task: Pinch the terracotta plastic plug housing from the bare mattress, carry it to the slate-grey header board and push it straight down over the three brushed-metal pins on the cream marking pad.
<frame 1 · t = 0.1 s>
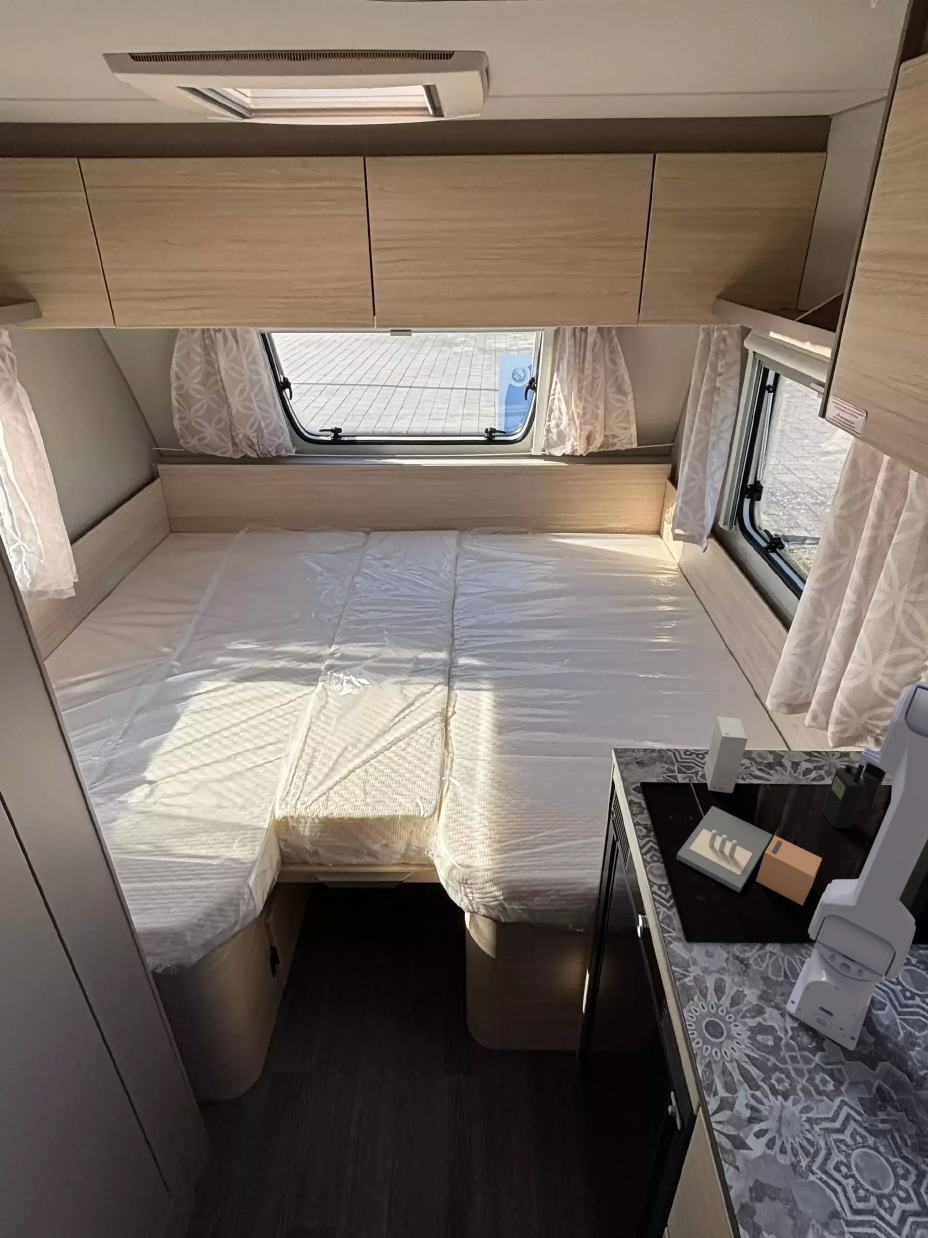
hand: (897, 821, 104), 10 cm above the worktop, tool pointing down, fingers open, 7 cm apart
walkie-talkie: (836, 820, 118), on the worktop
skincare box: (717, 782, 126), on the worktop
header board: (724, 848, 111), on the worktop
plug housing: (783, 884, 105), on the worktop
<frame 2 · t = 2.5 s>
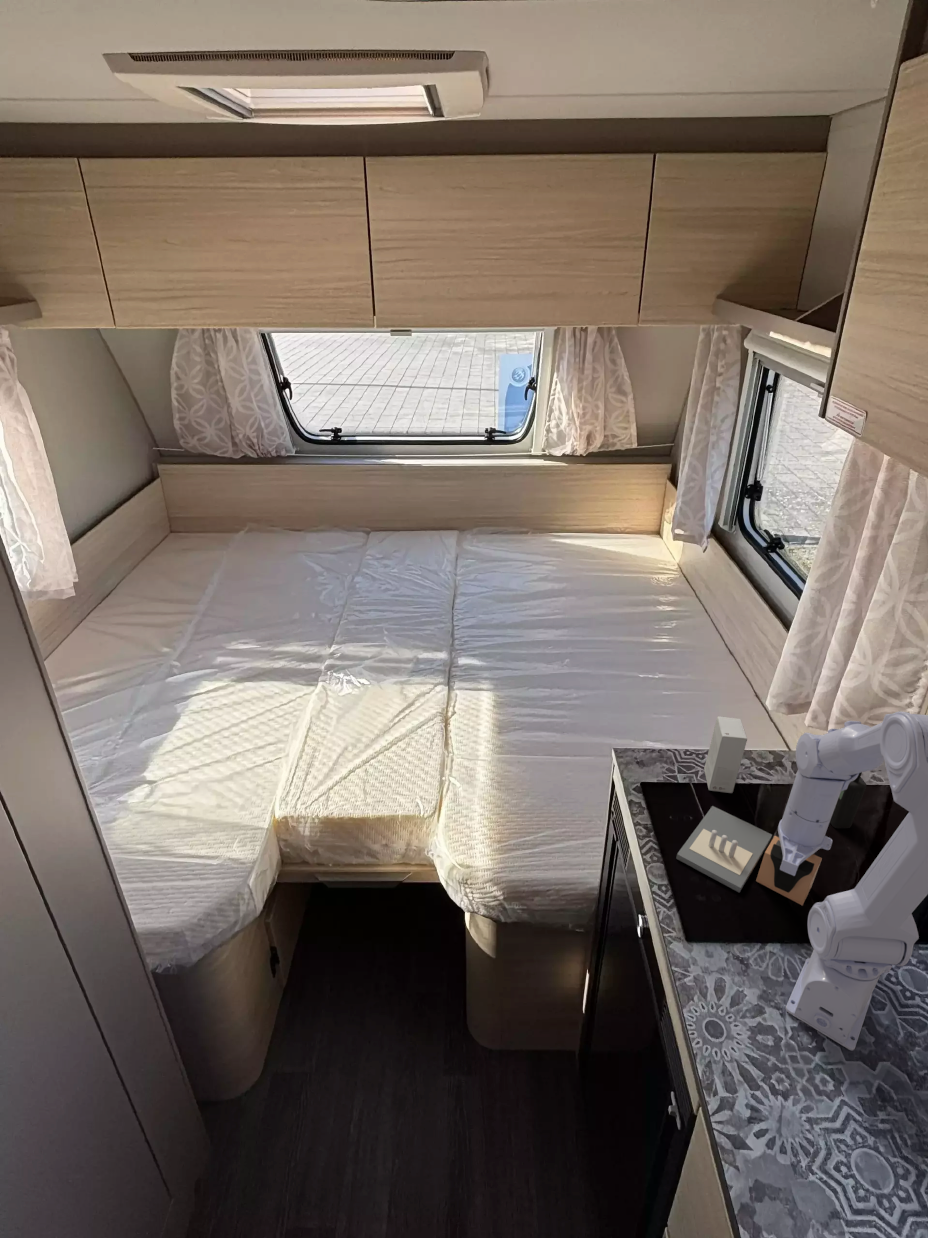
hand: (786, 876, 105), 2 cm above the worktop, tool pointing down, fingers closed on plug housing, 5 cm apart
plug housing: (783, 884, 105), on the worktop, touching gripper
everything else where it was.
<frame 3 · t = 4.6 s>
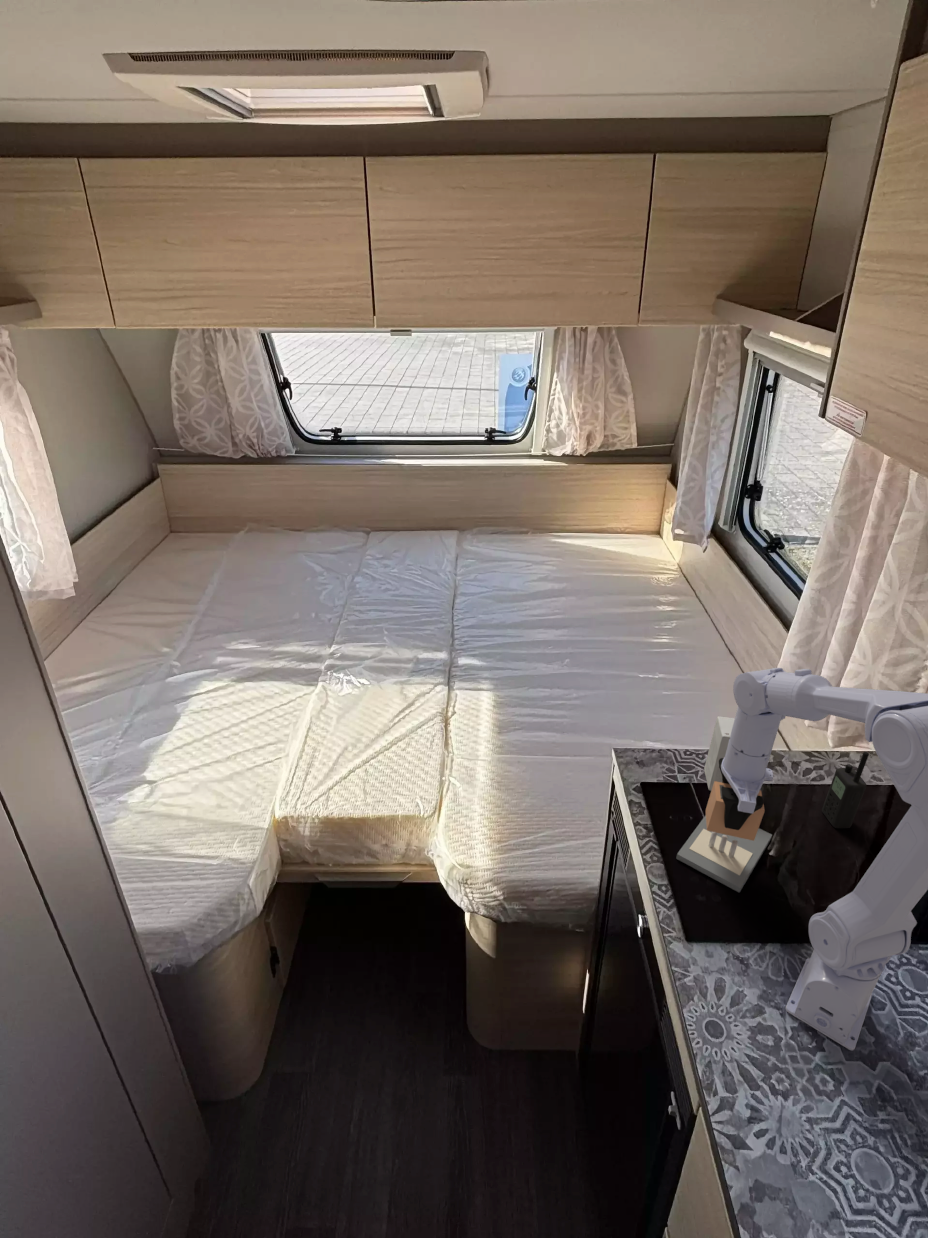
hand: (730, 815, 106), 8 cm above the worktop, tool pointing down, fingers closed on plug housing, 4 cm apart
plug housing: (729, 825, 107), point 7 cm above the worktop, touching gripper
everything else where it was.
when the fingers open (3 cm above the worktop, at t = 6.7 s): plug housing stays where it is, resting on header board.
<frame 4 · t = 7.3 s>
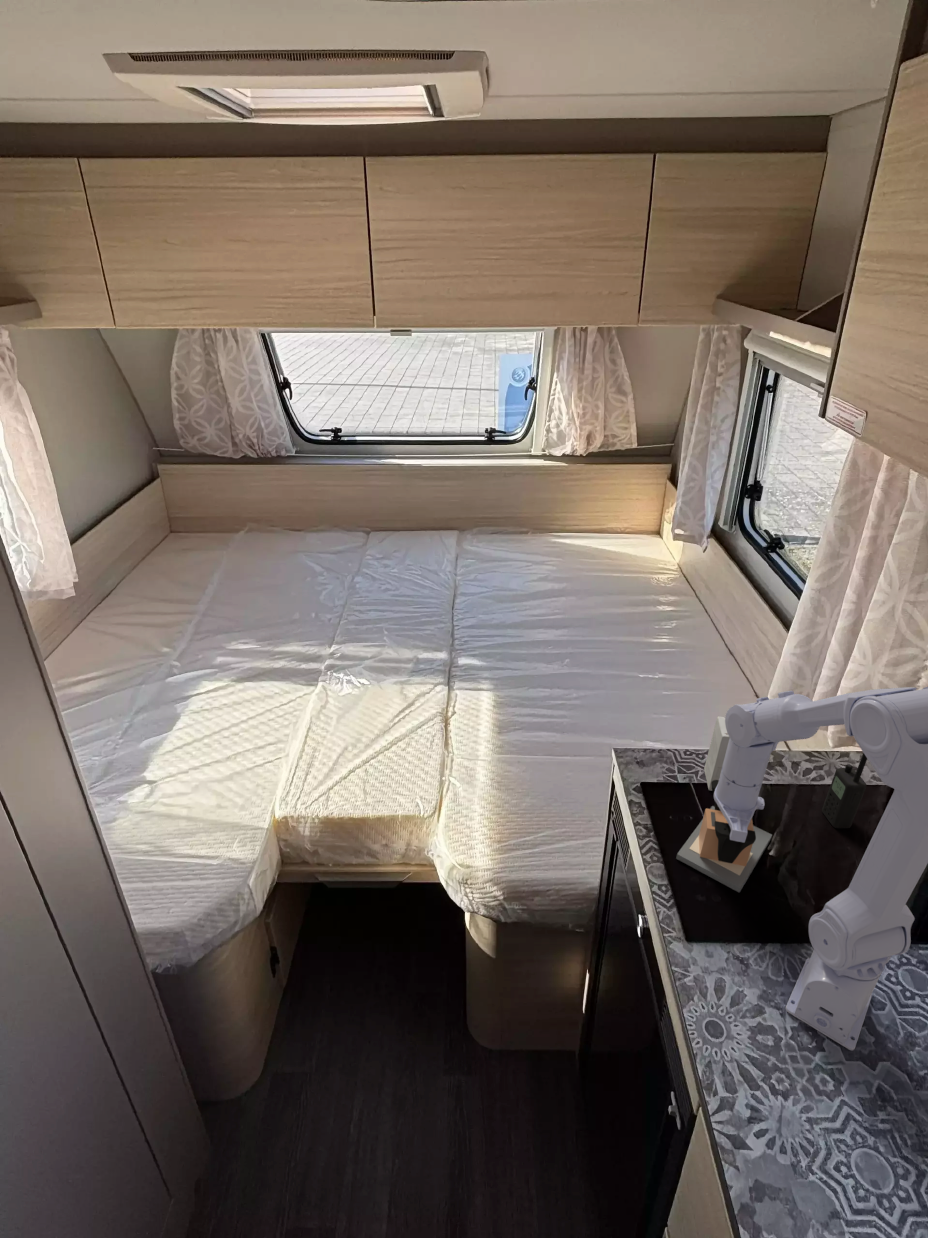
hand: (723, 842, 109), 3 cm above the worktop, tool pointing down, fingers open, 7 cm apart
plug housing: (721, 851, 109), point 1 cm above the worktop, touching header board
everything else where it was.
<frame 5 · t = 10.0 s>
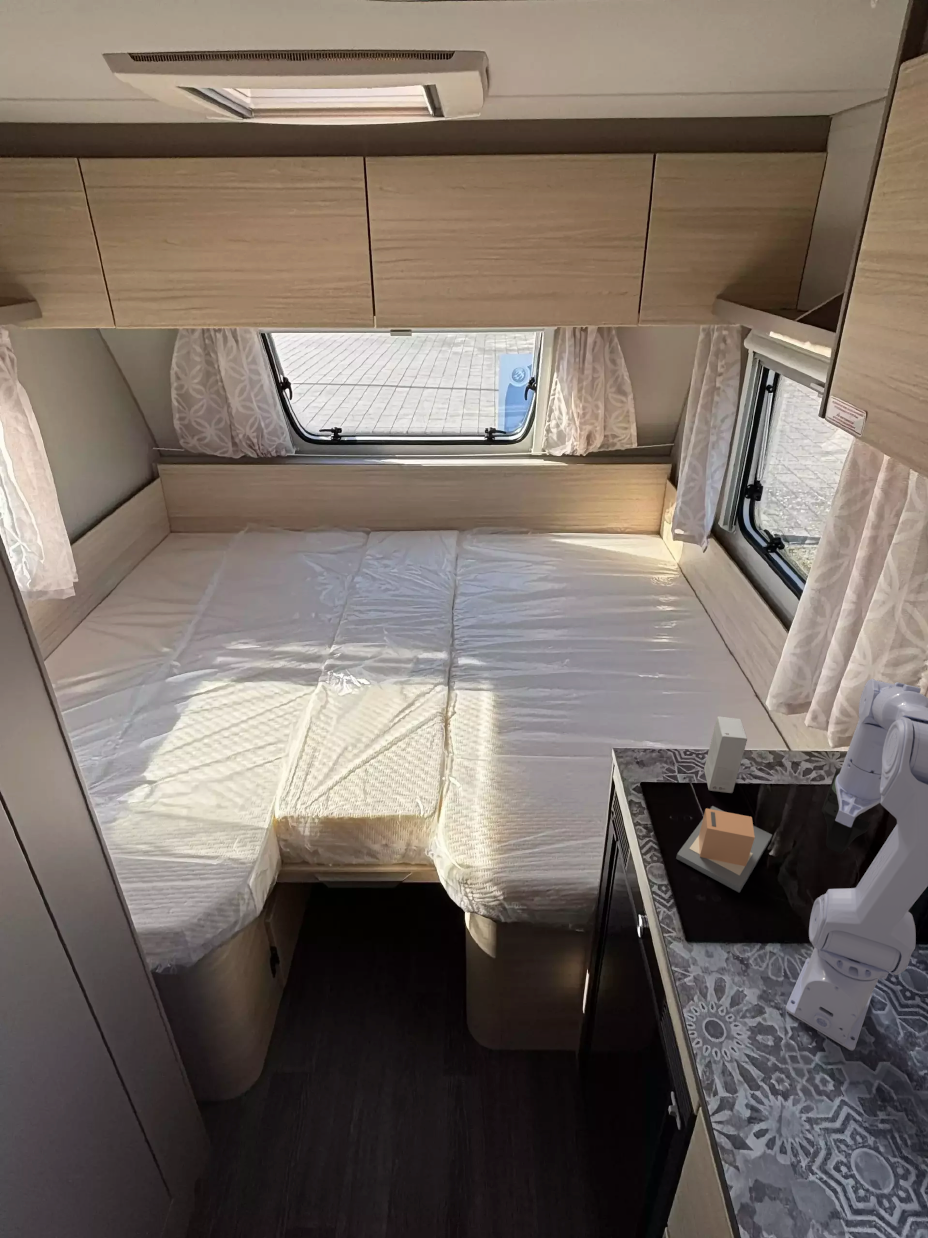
hand: (841, 834, 102), 9 cm above the worktop, tool pointing down, fingers open, 7 cm apart
nothing on the worktop moved.
at the end: plug housing 0.1 cm from the target spot on the header board, point 1.1 cm above the header board's base; plug housing tilted 0°; the gripper is holding nothing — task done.
